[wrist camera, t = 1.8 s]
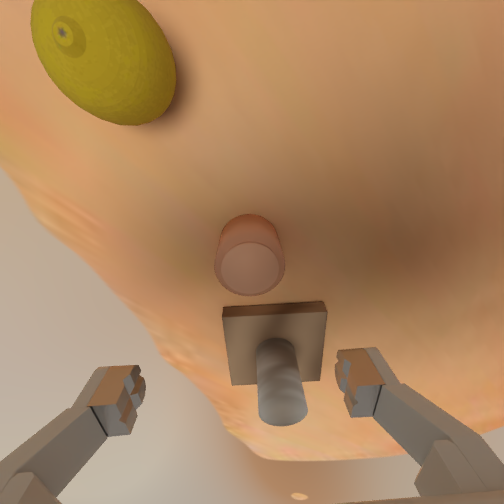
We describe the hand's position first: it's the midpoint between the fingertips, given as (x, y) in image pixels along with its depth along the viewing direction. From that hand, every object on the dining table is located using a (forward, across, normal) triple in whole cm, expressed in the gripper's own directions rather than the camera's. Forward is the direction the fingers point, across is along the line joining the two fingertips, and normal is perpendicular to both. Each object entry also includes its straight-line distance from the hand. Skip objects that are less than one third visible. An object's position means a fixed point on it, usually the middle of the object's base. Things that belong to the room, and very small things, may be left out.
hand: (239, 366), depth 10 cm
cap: (+12, -1, 0) cm, 12 cm away
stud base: (+12, -3, +12) cm, 17 cm away
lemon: (+13, +5, -12) cm, 18 cm away
